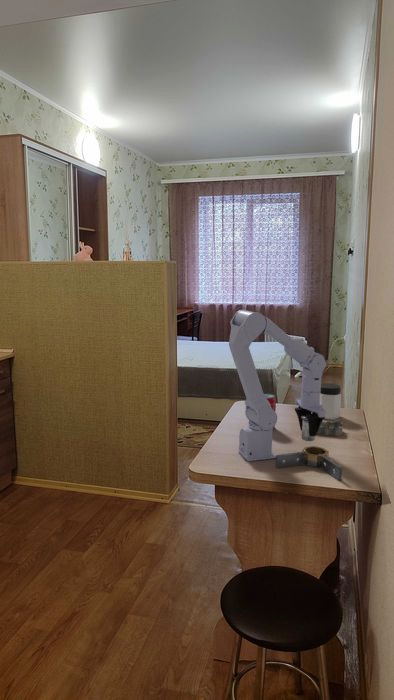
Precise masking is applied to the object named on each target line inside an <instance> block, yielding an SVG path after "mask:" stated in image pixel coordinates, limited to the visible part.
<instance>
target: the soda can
mask: <svg viewBox="0 0 394 700" xmlns="http://www.w3.org/2000/svg"><path fill="white" fill-rule="evenodd" d="M264 396H265V397H266V399H267V400H268V402H269V403H270V405H271V408H272V409H273V410H274V411H275V412H276V408H277V407H276V405H277V399H276V397H275V396H276V395H274V394H272V393H264ZM275 428H276V425H275V426H274V427H273V430H274V429H275Z"/></svg>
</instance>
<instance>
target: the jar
mask: <svg viewBox="0 0 394 700" xmlns="http://www.w3.org/2000/svg"><path fill="white" fill-rule="evenodd" d="M341 387H342V386H340V385H339V384H336V383H326V382H325V383H321V391H320V403H321V404H323V406H322V408H323V409H324V410H325V411H326V417H325V418H324V419H323V420H329V421H331V420H332V421H333V420H338V419H339V418H341V408H342V406H341V405H342V404H341V403H342V393H341V392H342V391H341V389H342V388H341Z"/></svg>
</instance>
